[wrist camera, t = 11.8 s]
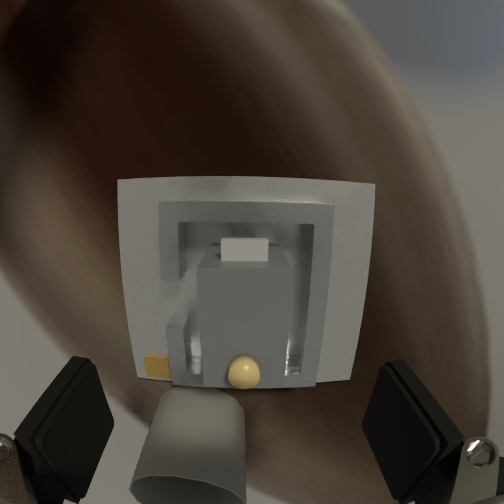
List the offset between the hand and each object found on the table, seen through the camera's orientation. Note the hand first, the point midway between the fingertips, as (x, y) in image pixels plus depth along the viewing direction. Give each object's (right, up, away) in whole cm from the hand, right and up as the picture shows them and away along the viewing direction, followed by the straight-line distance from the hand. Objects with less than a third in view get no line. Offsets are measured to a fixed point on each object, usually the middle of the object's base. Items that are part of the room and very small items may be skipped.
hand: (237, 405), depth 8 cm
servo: (0, +2, +12) cm, 12 cm away
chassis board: (0, +2, +13) cm, 13 cm away
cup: (-4, -11, +16) cm, 19 cm away
